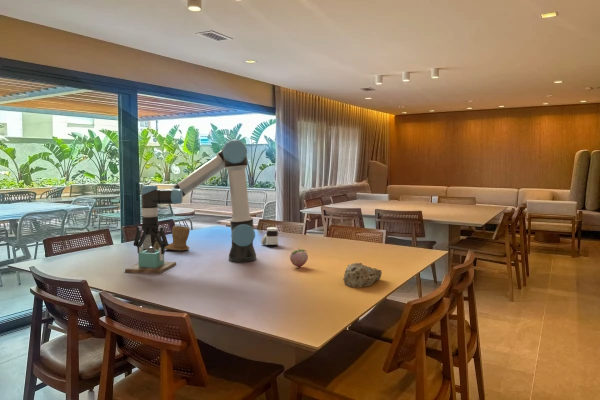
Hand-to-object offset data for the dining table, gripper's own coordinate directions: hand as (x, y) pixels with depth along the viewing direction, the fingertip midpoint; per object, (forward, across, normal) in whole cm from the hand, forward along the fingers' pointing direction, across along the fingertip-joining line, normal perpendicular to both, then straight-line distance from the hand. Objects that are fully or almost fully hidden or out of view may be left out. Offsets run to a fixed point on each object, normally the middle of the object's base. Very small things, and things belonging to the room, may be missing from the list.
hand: (151, 260), depth 212 cm
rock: (+5, -105, +11) cm, 106 cm away
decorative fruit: (+4, -73, -12) cm, 74 cm away
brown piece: (+5, +6, -46) cm, 47 cm away
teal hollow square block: (+3, 0, 0) cm, 3 cm away
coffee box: (+4, +8, -17) cm, 19 cm away
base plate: (+4, 0, 0) cm, 4 cm away
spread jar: (+5, -47, -67) cm, 82 cm away
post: (+4, 0, 0) cm, 4 cm away
